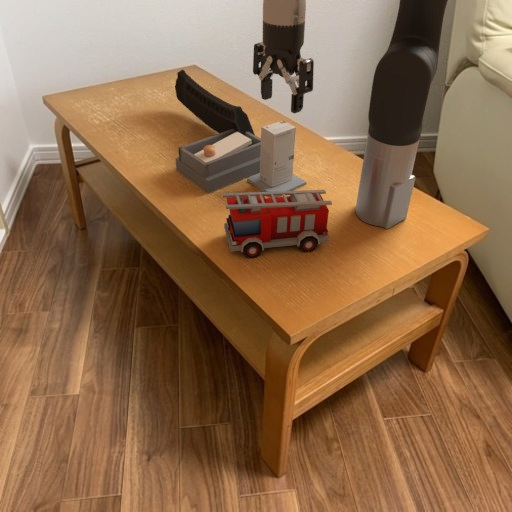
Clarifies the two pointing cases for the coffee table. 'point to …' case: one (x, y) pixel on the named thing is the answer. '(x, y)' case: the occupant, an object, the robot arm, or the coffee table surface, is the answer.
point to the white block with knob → (224, 147)
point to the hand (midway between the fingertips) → (281, 105)
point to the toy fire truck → (276, 220)
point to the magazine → (210, 107)
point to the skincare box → (277, 153)
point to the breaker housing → (219, 163)
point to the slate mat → (286, 186)
